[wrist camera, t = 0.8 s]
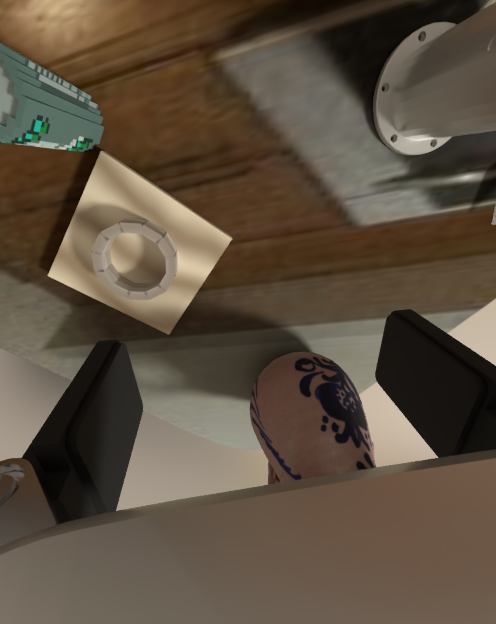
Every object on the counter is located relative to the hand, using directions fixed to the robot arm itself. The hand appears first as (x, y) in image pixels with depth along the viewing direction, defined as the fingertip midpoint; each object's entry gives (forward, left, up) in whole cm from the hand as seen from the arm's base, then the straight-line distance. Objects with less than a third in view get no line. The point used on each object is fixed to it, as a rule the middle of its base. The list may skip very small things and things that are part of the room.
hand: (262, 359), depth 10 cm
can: (+1, -20, -32) cm, 38 cm away
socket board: (+11, -7, -32) cm, 34 cm away
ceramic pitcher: (+19, +26, -32) cm, 45 cm away
